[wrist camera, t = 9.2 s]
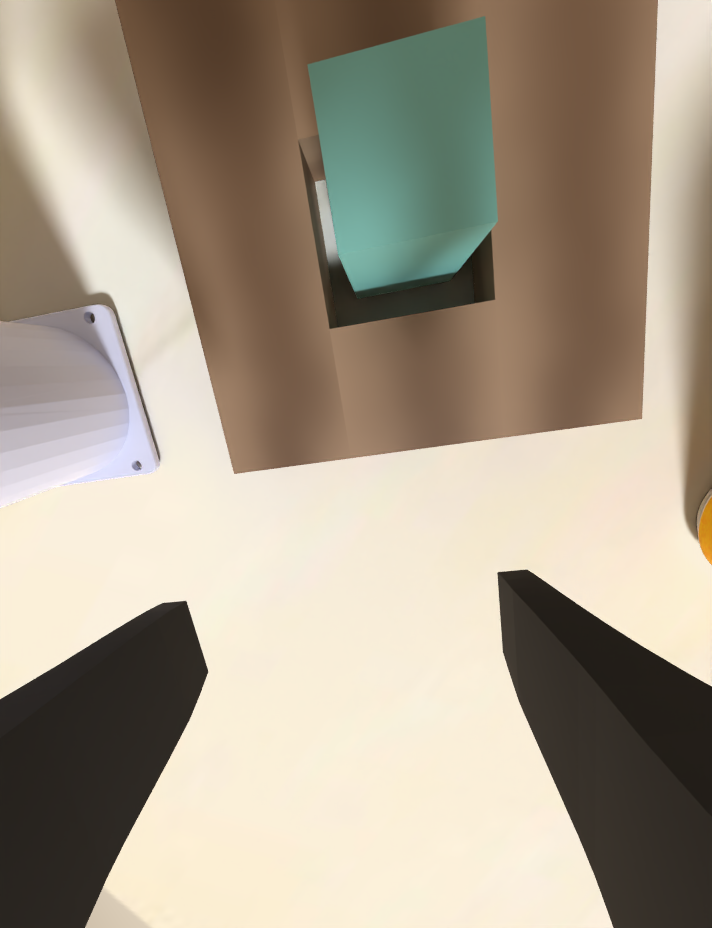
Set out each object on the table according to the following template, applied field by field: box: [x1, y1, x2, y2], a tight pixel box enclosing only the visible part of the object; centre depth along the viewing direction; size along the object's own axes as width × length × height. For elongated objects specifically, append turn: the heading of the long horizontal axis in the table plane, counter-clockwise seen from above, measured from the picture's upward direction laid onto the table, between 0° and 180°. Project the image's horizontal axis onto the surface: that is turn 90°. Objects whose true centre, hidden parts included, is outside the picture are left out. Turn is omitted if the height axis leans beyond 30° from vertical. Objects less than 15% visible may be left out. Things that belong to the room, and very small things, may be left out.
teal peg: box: [307, 16, 498, 299], centre depth 12 cm, size 4×4×7 cm
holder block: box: [115, 0, 658, 474], centre depth 14 cm, size 16×16×3 cm
